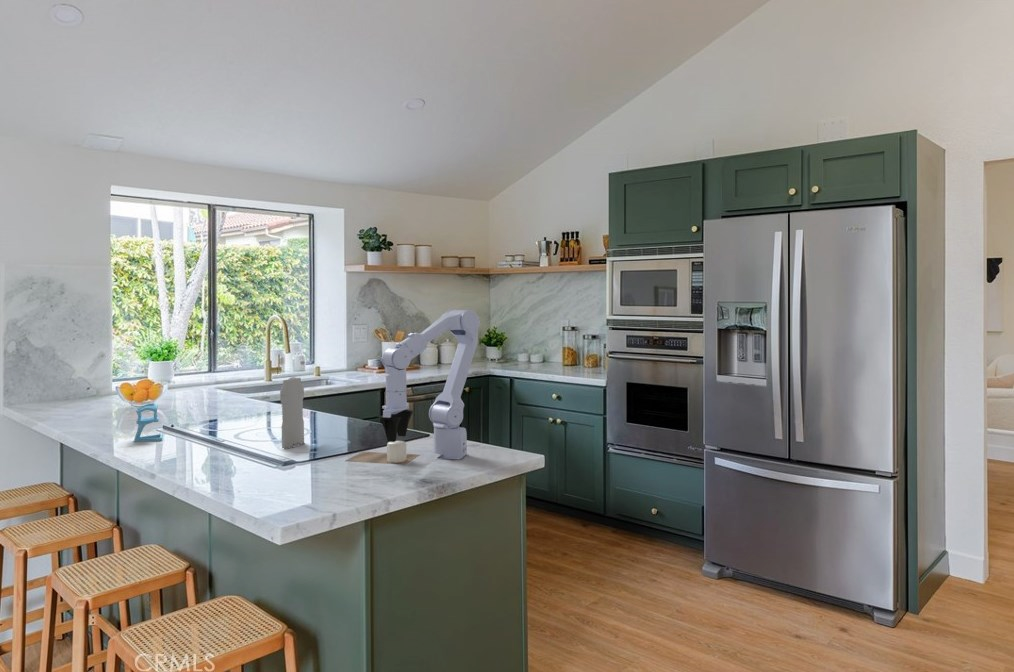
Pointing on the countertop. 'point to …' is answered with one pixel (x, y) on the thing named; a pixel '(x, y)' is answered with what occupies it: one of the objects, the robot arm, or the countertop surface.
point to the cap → (396, 451)
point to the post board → (378, 458)
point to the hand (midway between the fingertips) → (396, 438)
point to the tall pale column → (292, 412)
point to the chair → (145, 421)
